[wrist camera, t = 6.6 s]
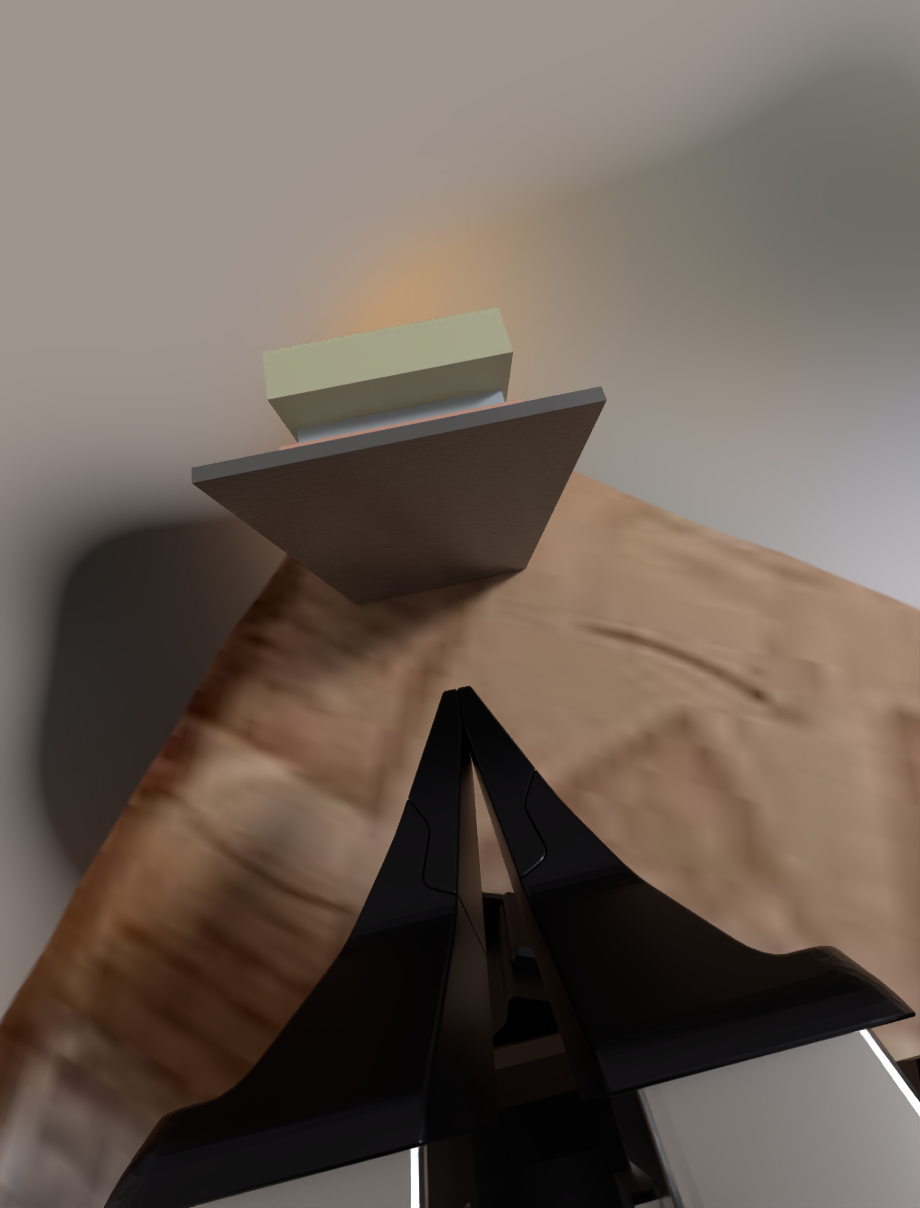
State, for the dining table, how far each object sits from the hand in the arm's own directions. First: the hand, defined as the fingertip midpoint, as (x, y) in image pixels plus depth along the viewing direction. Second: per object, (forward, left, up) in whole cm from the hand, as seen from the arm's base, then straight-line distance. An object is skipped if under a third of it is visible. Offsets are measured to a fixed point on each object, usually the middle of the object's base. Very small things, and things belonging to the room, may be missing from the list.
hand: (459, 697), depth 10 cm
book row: (+10, +3, -12) cm, 16 cm away
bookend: (+7, +2, -12) cm, 14 cm away
